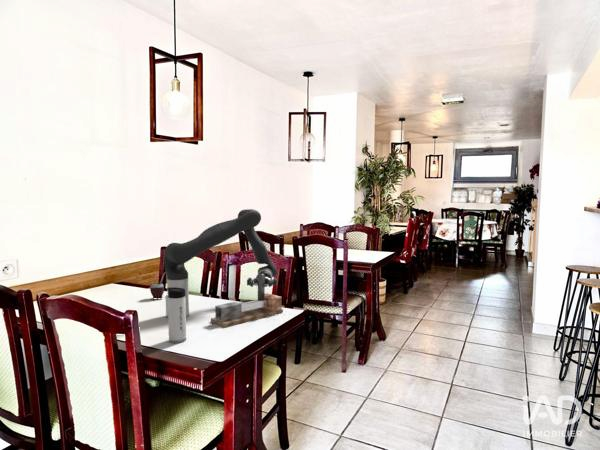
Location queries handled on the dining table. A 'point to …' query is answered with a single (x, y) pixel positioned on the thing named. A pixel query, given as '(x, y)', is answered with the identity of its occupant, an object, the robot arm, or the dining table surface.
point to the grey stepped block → (261, 297)
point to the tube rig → (245, 312)
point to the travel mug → (177, 314)
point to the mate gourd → (157, 289)
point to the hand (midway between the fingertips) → (260, 284)
